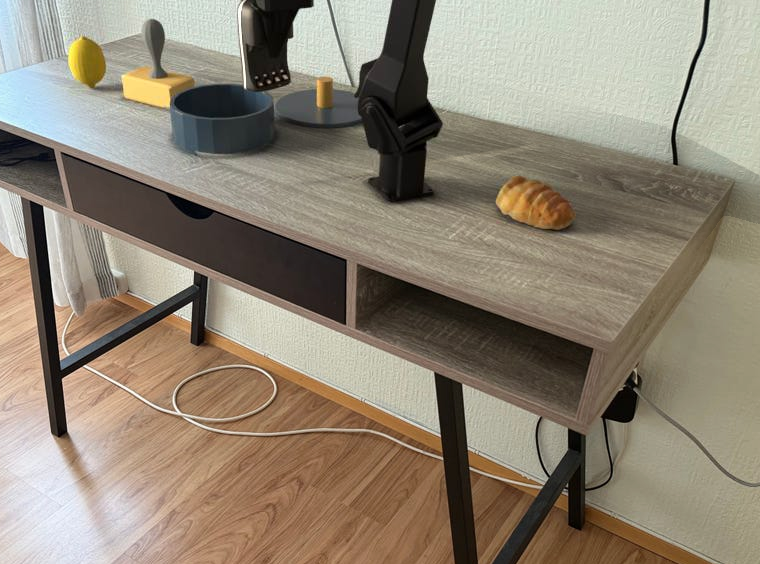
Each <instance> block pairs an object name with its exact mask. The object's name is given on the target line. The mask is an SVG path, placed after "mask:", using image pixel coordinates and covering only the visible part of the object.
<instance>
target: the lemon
mask: <svg viewBox="0 0 760 564" xmlns="http://www.w3.org/2000/svg"><path fill="white" fill-rule="evenodd" d="M68 67H69V69H70V71H71V74H72V76H73V77H74V79H75V80H77V81H78V82H79V83H81V84H83V85H86V86H87V87H88V88H89V89H93V88H94V87H95V86H96V84H99V83H100V82H101V81H102V80H103V79H104V77H105V74H106V71H107V64H106V58H105V55H104V52H103V50H102V48H101V46H100V45H99V44H98V43H97V42H96V41H95V40H93V39H90V38H88V37H87V36H85V35H81V36H80V37H79V38H77V39H76V40H75V41H73V42H72V43H71V45H70V47H69V50H68Z"/></svg>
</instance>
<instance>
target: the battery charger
mask: <svg viewBox="0 0 760 564" xmlns="http://www.w3.org/2000/svg"><path fill="white" fill-rule="evenodd" d="M250 3H257V2H256V0H242V1H241V0H240V2H239V4H238V6H237V9H236V21H237V35H238V36H237V38H238V46H239V56H240V64H241V77H242V85H243V87H244V88H245V89H246V90H250V91H254V92H263V91H266V92H268V91H271V90H276V89H279V88H282V87H283V88H284V87H286V86H289V85H290V84H291V83H292V78H291V73H290V68H289V62H288V42H289V40H290V39H293V38H294V23H293V24H292V26H291V28H290V30H289V33H288V35H287V38H286V40H285V42H284V45H283V47H282V50H281V52H280V55H279V57H278V58H270V56H269V51H268V47H267V42H266V36H265V31H264V26H263V20H262V16H261V15H260V14H259V13H258V12H257V11H256V10H255V9H254V8H253V7H252V6H251V5H250Z"/></svg>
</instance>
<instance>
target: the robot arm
mask: <svg viewBox="0 0 760 564" xmlns="http://www.w3.org/2000/svg"><path fill="white" fill-rule="evenodd" d="M241 1H242V0H240V2H241ZM256 2H257V3H250V5H251V6H252V7H253V8H254V9H255V10H256V11H257V12H258V13H259V14H260V15H261V16H262V20H263V26H264V31H265V36H266V42H267V47H268V51H269V56H270V58H278V57H279V55H280V52H281V50H282V47H283V45H284V42H285V40H286V38H287V35H288V33H289V30H290V28H291V26H292V24H293V25H294V21H295V19H296V17H297V16H298V13H299V11H300V10H302V9H312V8H313V7H315V4H314V3H315V0H256ZM436 3H437V0H391V3H390V9H389V15H388V20H387V24H386V30H385V33H384V34H385V36H384V40H383V45H382V50H381V52H380V54H379V56H378V57H377V58H374V59H372V60H369V61H367V62H364V63H362V64H361V65H360V68H359V74H358V75H359V78H358V86H357V90H356V92H354V93H355V95H354V97H355V98H358V97H359V99H358V106H357V109H358V114H359V116H361V118H362V122H361V123H362V126H363V129H364V134H365V137H366V143H367V145H368V148H370V149H372V150H375V151H376V152H377V153H378V154H379V163H378V176H374V177H369V178H368V179H367V183H368V185H370V186H371V187H372V188H373V189H374V190H375V192H377V193H378V194H379V195H380V196H381V197H382V198H383V199H385V200H386V202H389V203H393V202H399V201H404V200H410V199H415V198H422V197H427V196H433V195H434V194H435V190H434V188H433V187H431V186H430V185H429V184H428V183H427V182H426V181H425V177H426V167H427V166H426V165H427V155H428V154H427V152H428V149H427V146H428V145H427V144H428V143H427V142H428V141H431V140H432V139H436V138H437V137H439V135H440V132H441V130H442V128H443V126H444V122H443V120H442V119H441V117H440V116H439V114H438V113H437V111H436V110H435V108H434V106H433V104H432V103H431V101H430V100H429V99H428V93H429V91H428V90H429V76H428V72H427V68H426V64H425V60H424V56H425V51H426V46H427V42H428V37H429V33H430V29H431V24H432V20H433V16H434V11H435V8H436Z"/></svg>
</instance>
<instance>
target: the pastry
mask: <svg viewBox="0 0 760 564" xmlns="http://www.w3.org/2000/svg"><path fill="white" fill-rule="evenodd" d="M495 204H496V206H497V207H498V208H499V210H500V212H501V213H502V215H505V216H506V215H508V216H510V217H511V218H512V219H513V220H515V221H518V222H520V223H525V224H527V225H528V226H533V227H534V228H539V229H543V230H544V229H545V230H548V229H549V230H550V229H552V230H557V231H559V230H562V229H565V228H566V227H568V226H570V225H571V224H572V223H573V221H574V219H575V218H576V212H575V209H574V208H573V207H572V205H571V204H570V202H569V200H568V199H566V198H564V197H563V196H562V194H561V193H560V192H557V191H555V190H554V189H553V188H552V187H551V185H550V184H545V183H544V184H543V183H542V181H540V180H539V179H532V180H528V179H527V178H526V177H525V176H522V175H516V176H513V177H510V178H509V179H508V181H507V182H505V183H504V185H503V186H502V187H501V188H500V191H499V192H498V195H497V197H496V200H495Z"/></svg>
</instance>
